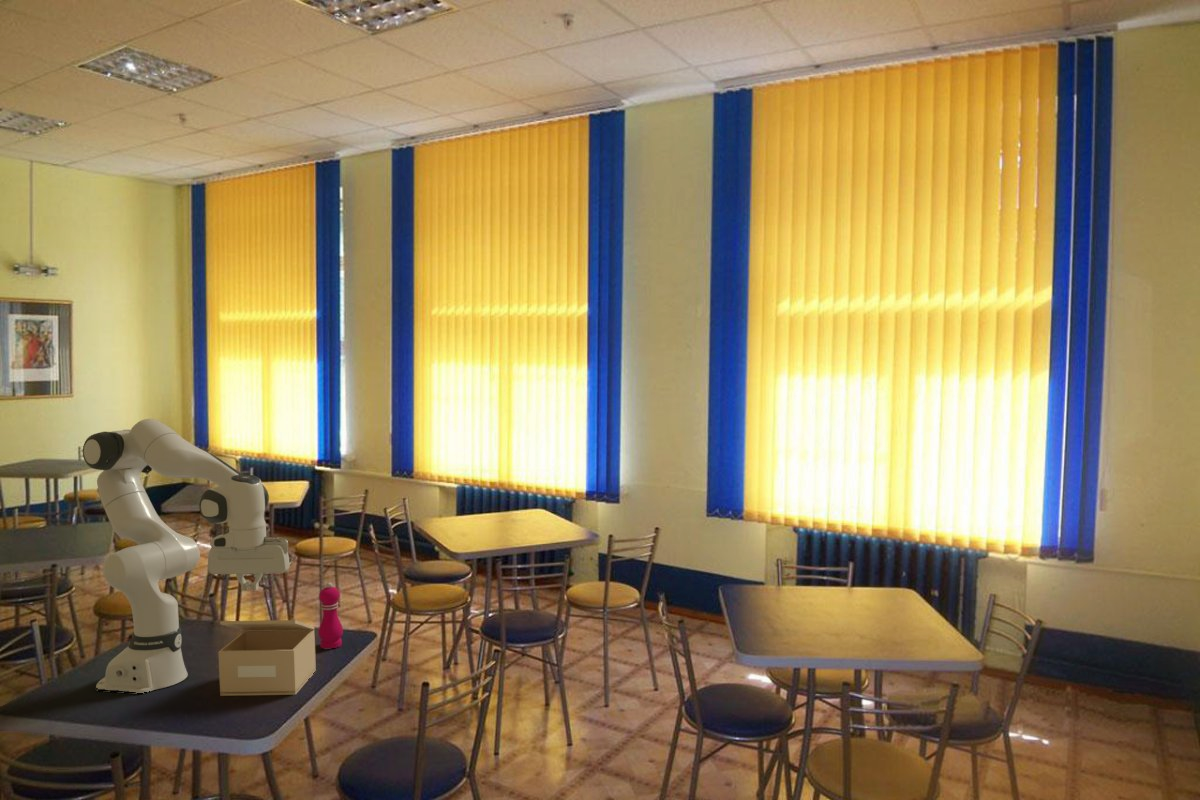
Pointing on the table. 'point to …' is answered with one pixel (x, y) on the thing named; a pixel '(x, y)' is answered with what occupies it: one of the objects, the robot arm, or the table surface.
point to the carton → (267, 662)
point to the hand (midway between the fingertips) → (250, 589)
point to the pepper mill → (330, 618)
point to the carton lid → (268, 625)
